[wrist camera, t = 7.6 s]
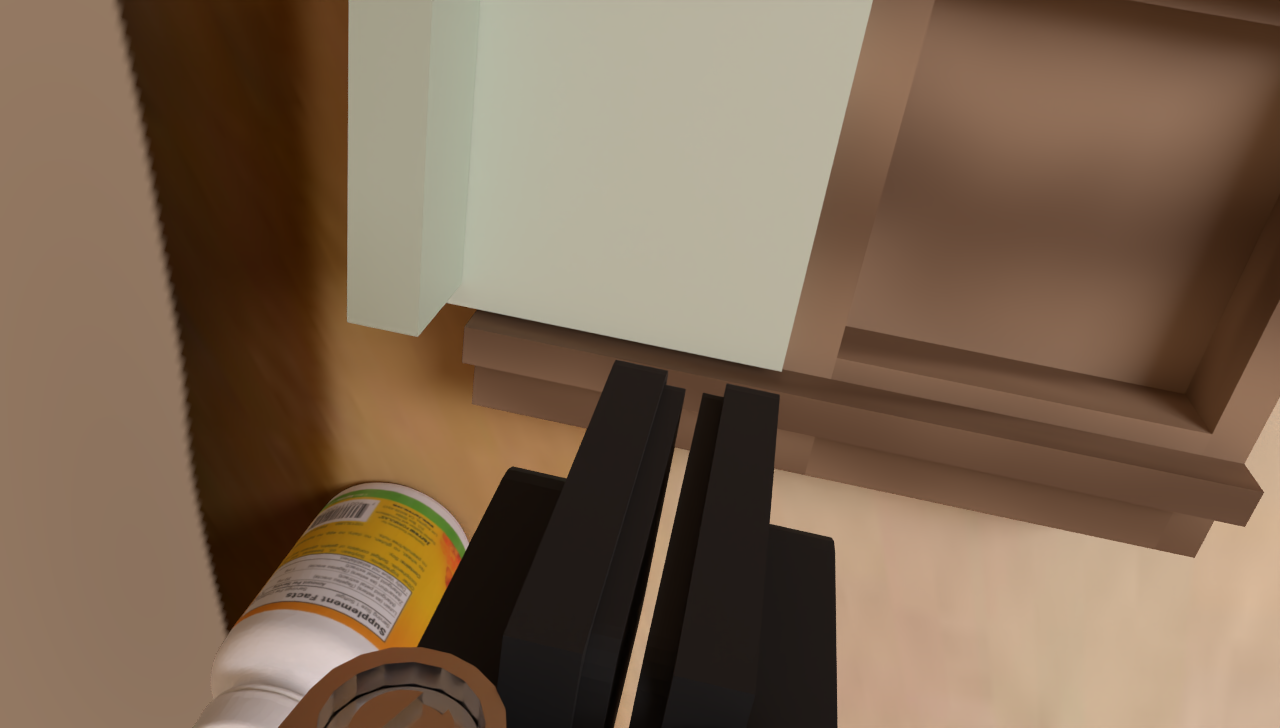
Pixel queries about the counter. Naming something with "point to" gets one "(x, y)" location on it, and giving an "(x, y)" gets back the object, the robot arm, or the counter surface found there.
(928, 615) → the counter surface
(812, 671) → the robot arm
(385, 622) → the supplement bottle
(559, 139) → the lid
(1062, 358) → the brown box
